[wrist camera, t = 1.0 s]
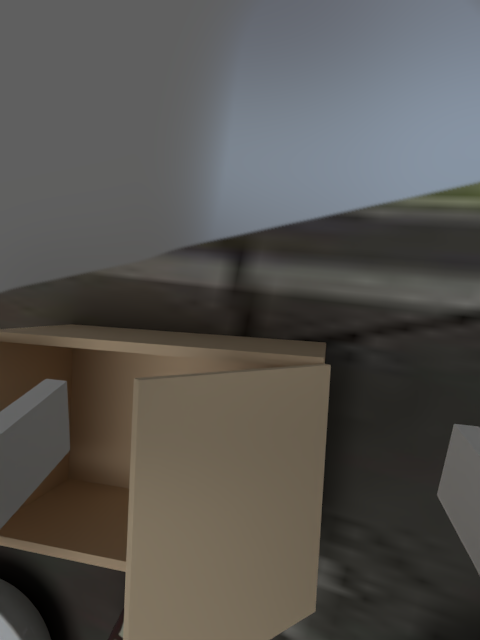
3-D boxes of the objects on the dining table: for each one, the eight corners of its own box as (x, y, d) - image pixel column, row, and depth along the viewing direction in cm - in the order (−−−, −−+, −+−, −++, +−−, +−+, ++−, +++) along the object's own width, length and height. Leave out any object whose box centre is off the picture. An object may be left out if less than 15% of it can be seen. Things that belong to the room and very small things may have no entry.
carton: (315, 522, 41) (308, 610, 29) (66, 481, 47) (-23, 540, 35) (326, 342, 40) (324, 357, 28) (71, 324, 46) (-18, 330, 34)
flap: (308, 606, 29) (315, 611, 28) (119, 719, 20) (124, 729, 20) (324, 363, 28) (330, 365, 27) (133, 378, 20) (138, 380, 19)
